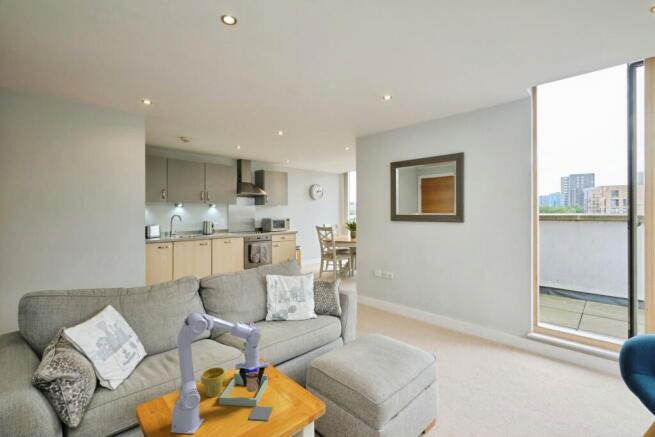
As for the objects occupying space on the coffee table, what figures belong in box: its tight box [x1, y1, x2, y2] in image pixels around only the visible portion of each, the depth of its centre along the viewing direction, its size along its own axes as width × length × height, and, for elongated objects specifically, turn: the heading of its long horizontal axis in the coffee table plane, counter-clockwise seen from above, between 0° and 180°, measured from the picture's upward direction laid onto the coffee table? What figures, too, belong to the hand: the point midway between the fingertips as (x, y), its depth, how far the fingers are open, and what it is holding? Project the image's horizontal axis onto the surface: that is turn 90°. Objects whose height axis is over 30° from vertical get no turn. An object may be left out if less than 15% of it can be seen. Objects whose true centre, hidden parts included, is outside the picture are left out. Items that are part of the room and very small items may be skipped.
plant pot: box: [200, 366, 226, 398], centre depth 140 cm, size 10×10×10 cm
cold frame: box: [218, 372, 269, 407], centre depth 139 cm, size 17×17×5 cm
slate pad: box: [248, 405, 274, 422], centre depth 125 cm, size 8×8×1 cm
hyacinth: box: [242, 320, 259, 374], centre depth 154 cm, size 9×10×30 cm
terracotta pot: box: [246, 372, 259, 393], centre depth 133 cm, size 6×6×6 cm
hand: (252, 384), depth 133 cm, fingers closed on terracotta pot, 6 cm apart
